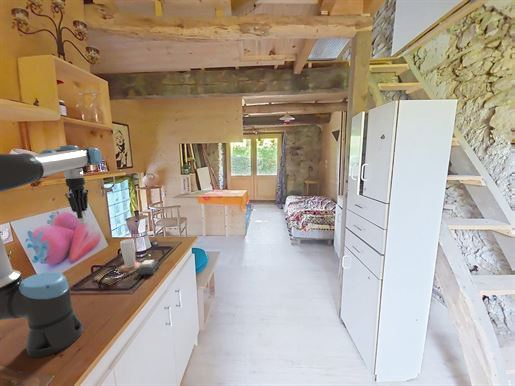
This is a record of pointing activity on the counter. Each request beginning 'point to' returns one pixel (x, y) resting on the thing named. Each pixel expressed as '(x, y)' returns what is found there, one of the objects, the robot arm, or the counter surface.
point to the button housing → (148, 269)
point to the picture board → (120, 269)
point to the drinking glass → (128, 252)
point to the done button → (147, 263)
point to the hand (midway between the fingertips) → (82, 223)
